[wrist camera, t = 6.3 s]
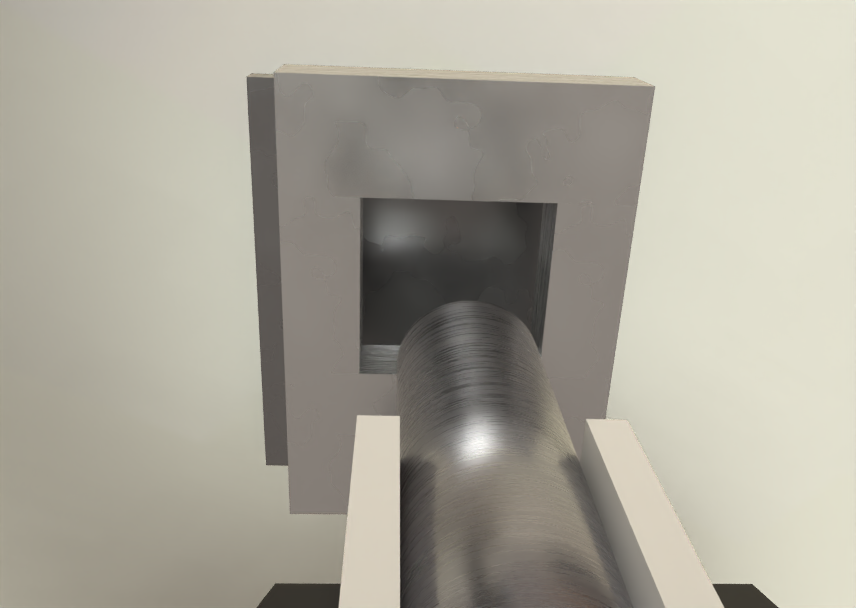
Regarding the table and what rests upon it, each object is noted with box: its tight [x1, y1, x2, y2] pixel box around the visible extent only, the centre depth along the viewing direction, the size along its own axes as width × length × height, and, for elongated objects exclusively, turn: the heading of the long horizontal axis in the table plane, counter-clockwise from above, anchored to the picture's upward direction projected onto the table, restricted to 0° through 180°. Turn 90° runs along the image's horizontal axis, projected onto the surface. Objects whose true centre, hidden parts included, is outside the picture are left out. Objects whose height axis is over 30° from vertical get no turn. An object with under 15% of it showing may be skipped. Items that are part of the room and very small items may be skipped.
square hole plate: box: [247, 64, 655, 514], centre depth 23 cm, size 17×14×16 cm
